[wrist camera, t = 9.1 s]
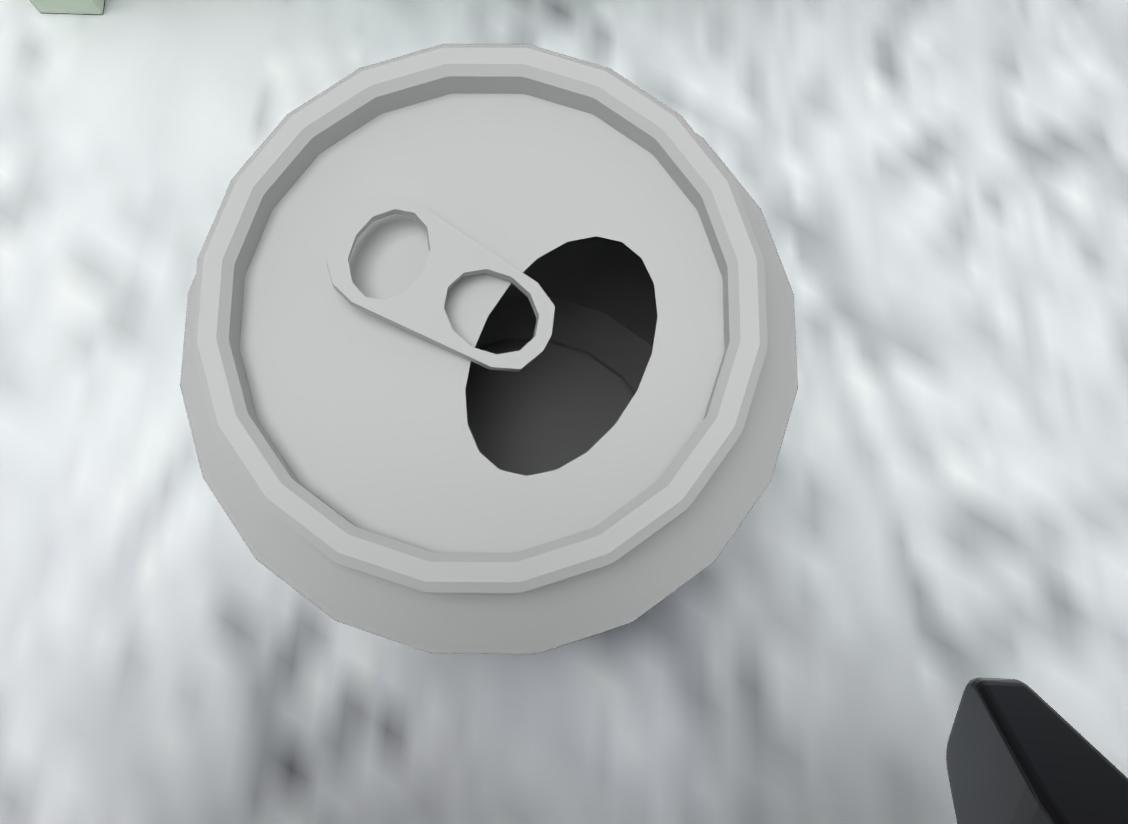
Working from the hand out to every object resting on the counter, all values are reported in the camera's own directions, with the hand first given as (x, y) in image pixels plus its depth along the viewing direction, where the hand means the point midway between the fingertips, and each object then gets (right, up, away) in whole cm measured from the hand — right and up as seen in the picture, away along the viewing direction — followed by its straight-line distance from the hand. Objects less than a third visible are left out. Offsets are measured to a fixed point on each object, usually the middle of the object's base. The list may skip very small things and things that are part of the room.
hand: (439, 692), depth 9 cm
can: (0, +1, +14) cm, 14 cm away
